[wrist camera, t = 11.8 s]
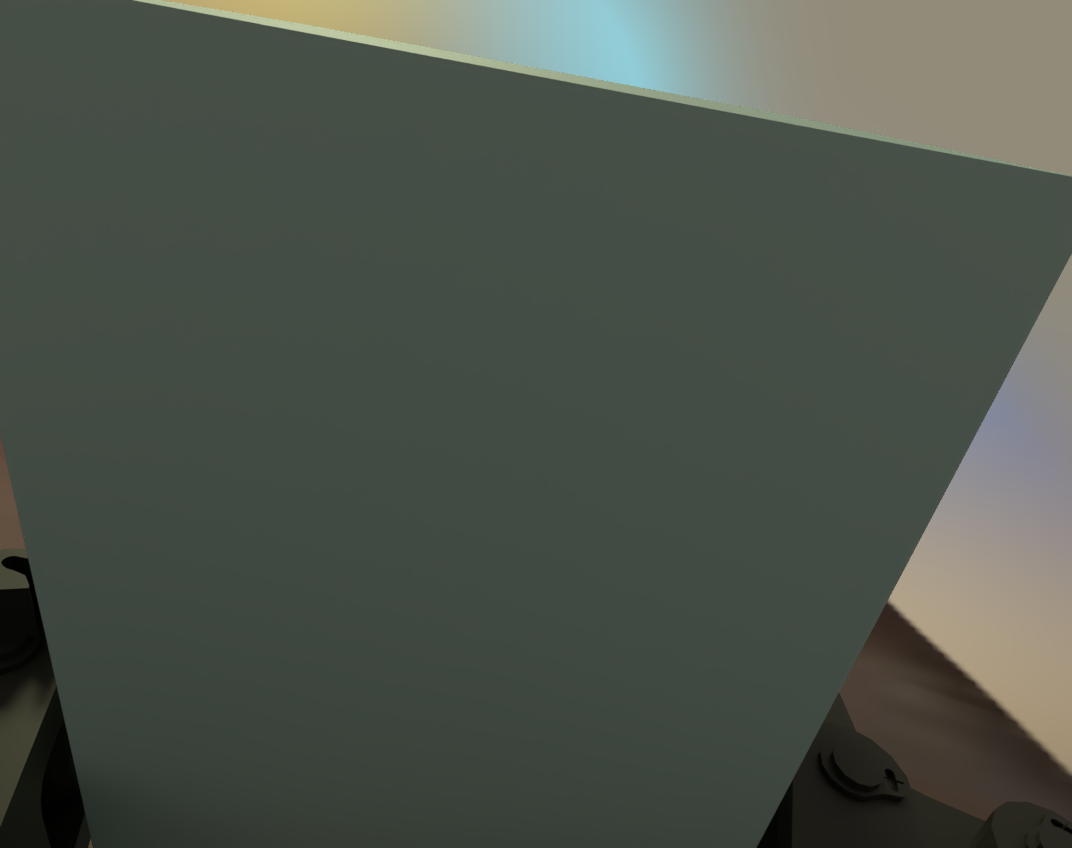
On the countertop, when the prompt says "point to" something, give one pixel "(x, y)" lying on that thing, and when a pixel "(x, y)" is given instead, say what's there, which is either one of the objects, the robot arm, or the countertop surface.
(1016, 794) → the countertop surface
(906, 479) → the teal post
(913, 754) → the countertop surface
